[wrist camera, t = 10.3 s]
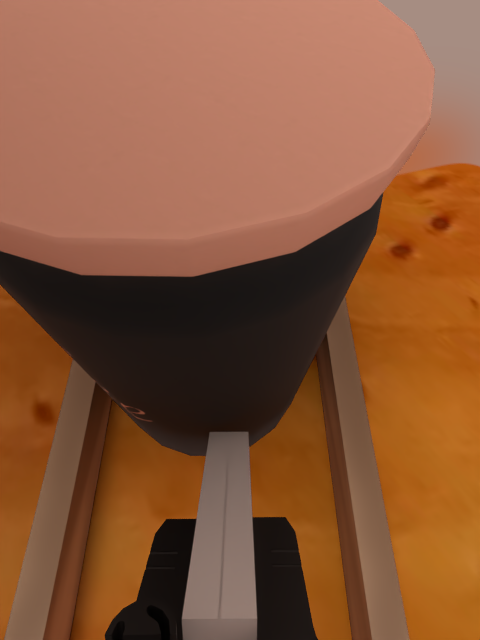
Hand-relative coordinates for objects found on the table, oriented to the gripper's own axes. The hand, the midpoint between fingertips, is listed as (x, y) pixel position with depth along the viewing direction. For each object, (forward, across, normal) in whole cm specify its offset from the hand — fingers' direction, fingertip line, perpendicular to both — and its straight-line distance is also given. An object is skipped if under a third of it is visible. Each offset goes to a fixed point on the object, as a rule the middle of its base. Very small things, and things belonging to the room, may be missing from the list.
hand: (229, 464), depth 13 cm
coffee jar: (+10, -1, 0) cm, 10 cm away
